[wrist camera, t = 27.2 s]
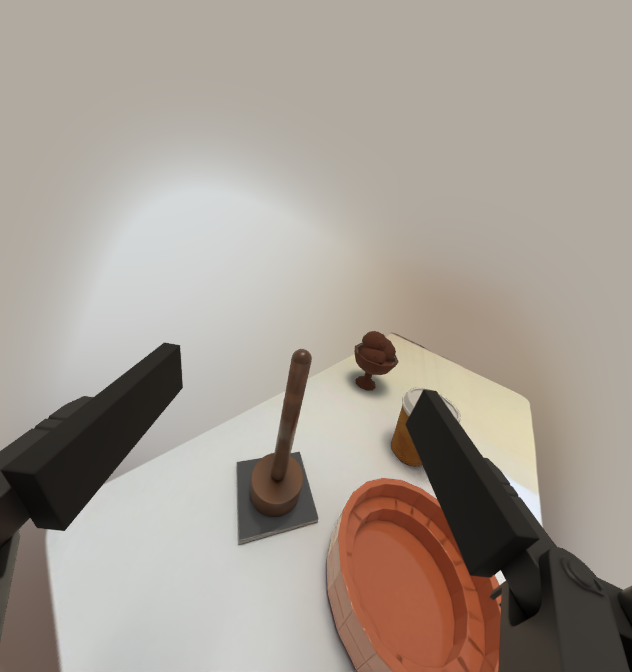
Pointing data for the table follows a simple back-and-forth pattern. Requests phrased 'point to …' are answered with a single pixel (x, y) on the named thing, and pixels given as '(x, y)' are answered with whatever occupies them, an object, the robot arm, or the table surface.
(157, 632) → the table surface
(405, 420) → the disposable coffee cup
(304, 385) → the paper towel holder
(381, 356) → the ice cream bowl
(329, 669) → the table surface
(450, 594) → the terracotta round bowl
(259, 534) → the dark grey square tile
